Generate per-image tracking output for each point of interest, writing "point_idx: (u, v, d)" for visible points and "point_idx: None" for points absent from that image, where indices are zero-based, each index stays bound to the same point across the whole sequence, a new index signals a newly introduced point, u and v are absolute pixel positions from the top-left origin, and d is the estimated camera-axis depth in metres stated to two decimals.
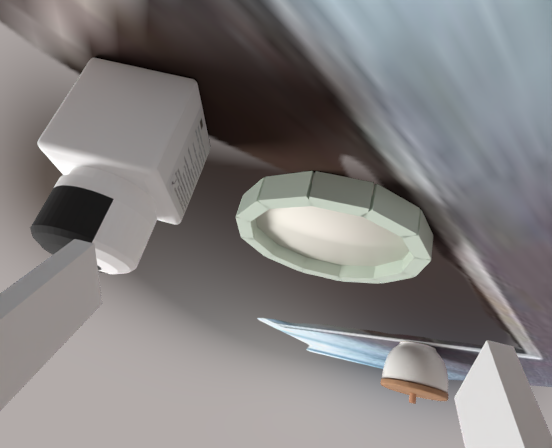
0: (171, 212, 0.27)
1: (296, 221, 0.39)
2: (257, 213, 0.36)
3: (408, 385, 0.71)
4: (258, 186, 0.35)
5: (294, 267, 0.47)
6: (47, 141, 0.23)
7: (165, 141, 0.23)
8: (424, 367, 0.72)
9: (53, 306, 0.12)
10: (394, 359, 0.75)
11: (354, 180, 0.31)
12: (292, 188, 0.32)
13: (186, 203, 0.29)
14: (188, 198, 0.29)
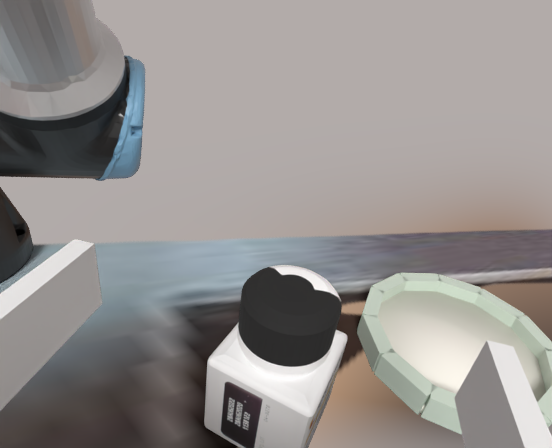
0: None
1: (439, 363, 0.36)
2: (408, 366, 0.33)
3: None
4: (381, 373, 0.35)
5: None
6: (211, 354, 0.26)
7: None
8: None
9: (53, 306, 0.12)
10: None
11: None
12: (365, 332, 0.38)
13: None
14: None
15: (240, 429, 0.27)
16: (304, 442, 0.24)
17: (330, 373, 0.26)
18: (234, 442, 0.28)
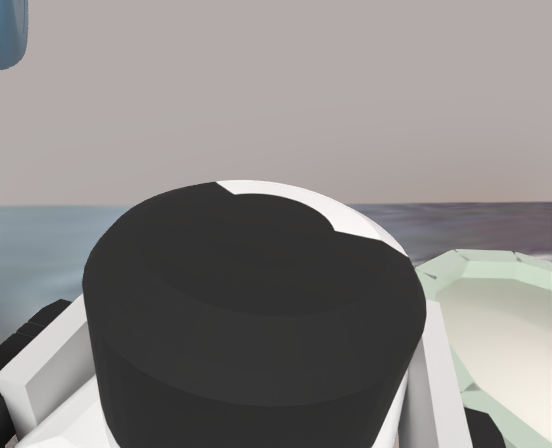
0: None
1: None
2: (515, 421, 0.16)
3: None
4: None
5: None
6: None
7: None
8: None
9: None
10: None
11: None
12: None
13: None
14: None
15: None
16: None
17: None
18: None
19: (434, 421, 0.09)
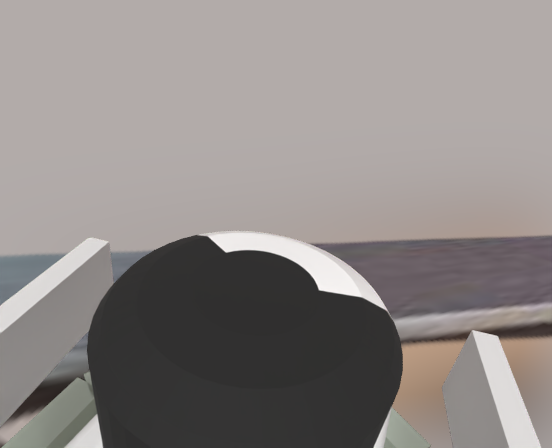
0: None
1: None
2: None
3: None
4: None
5: None
6: None
7: None
8: None
9: (70, 303, 0.12)
10: None
11: None
12: None
13: None
14: None
15: None
16: None
17: None
18: None
19: None
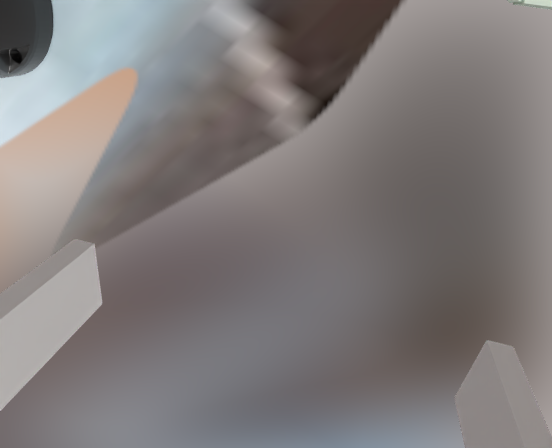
0: None
1: None
2: None
3: None
4: None
5: None
6: None
7: None
8: None
9: (53, 306, 0.12)
10: None
11: None
12: None
13: None
14: None
15: None
16: None
17: None
18: None
19: None
